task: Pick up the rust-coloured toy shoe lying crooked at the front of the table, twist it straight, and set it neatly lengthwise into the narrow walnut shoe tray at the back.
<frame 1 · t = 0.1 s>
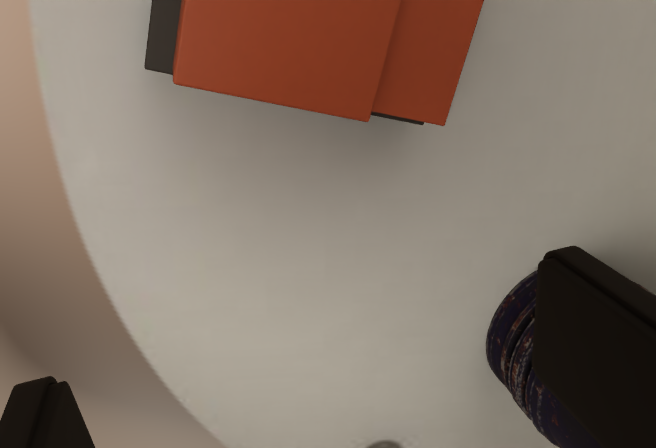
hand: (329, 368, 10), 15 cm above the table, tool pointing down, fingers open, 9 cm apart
shoe: (304, 22, 23), on the table
storage jar: (553, 325, 34), on the table
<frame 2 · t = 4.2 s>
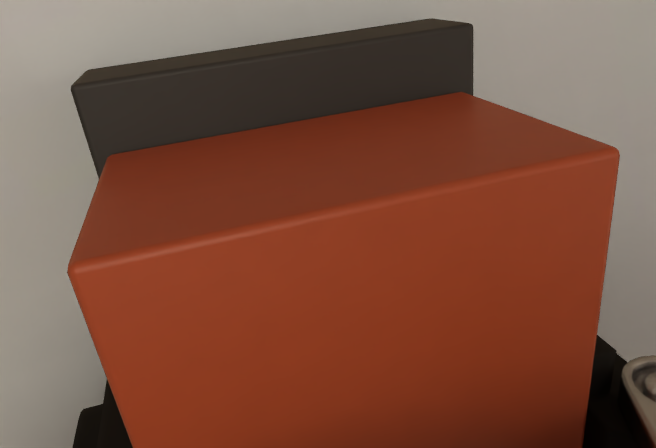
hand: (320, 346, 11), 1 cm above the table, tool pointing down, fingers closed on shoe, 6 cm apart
shoe: (313, 330, 12), on the table, touching gripper
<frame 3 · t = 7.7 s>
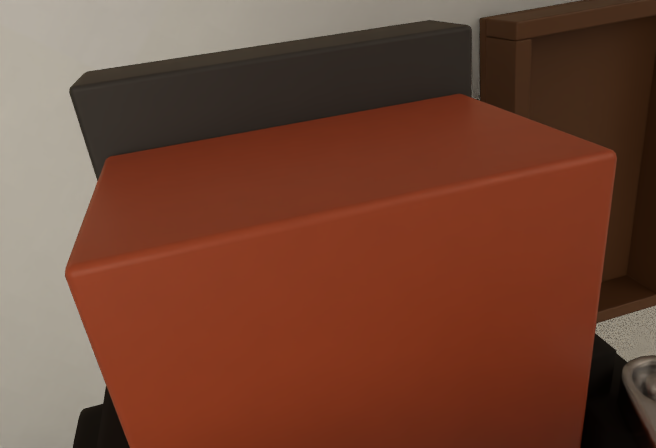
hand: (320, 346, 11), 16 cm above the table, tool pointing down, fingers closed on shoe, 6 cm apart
shoe tray: (565, 168, 30), on the table
shoe: (312, 331, 12), point 15 cm above the table, touching gripper
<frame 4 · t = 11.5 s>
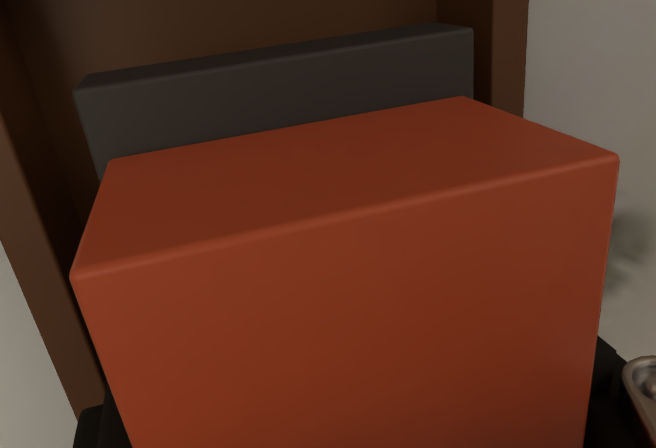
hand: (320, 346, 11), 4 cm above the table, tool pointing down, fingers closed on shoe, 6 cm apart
shoe tray: (281, 253, 15), on the table
shoe: (313, 332, 12), point 4 cm above the table, touching gripper
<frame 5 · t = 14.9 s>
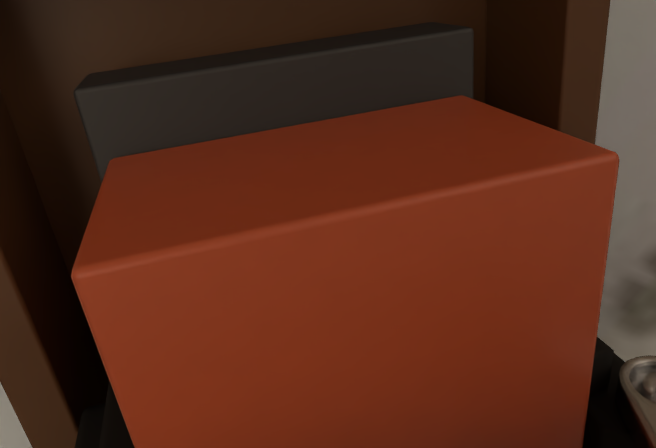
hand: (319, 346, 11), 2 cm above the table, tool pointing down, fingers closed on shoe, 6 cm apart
shoe tray: (299, 296, 13), on the table
shoe: (314, 331, 12), point 1 cm above the table, touching gripper
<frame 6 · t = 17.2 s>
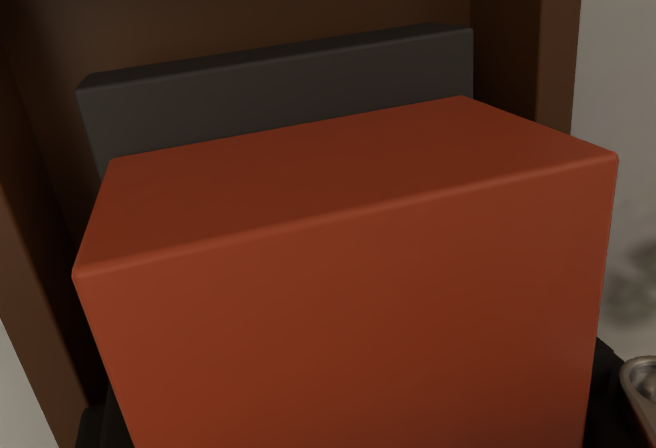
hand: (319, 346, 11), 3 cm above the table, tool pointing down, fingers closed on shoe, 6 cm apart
shoe tray: (296, 287, 14), on the table
shoe: (314, 331, 12), point 2 cm above the table, touching gripper
when the fingers open (3 cm above the table, at t = 18.9 s): shoe drops 1 cm, resting on shoe tray.
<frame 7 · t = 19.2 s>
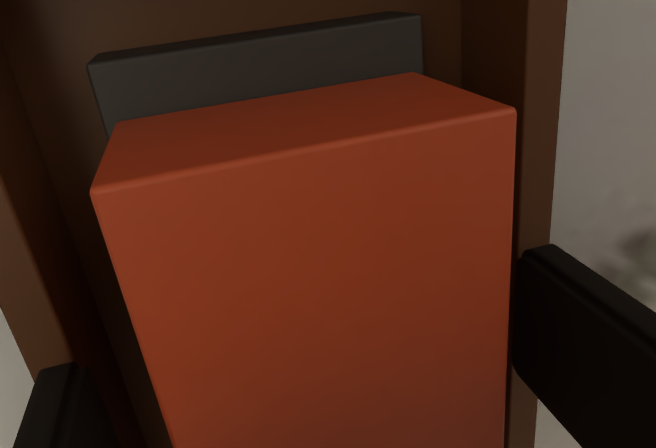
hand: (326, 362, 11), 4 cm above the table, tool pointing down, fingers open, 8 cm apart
shoe tray: (290, 276, 14), on the table
shoe: (294, 285, 13), point 1 cm above the table, touching shoe tray
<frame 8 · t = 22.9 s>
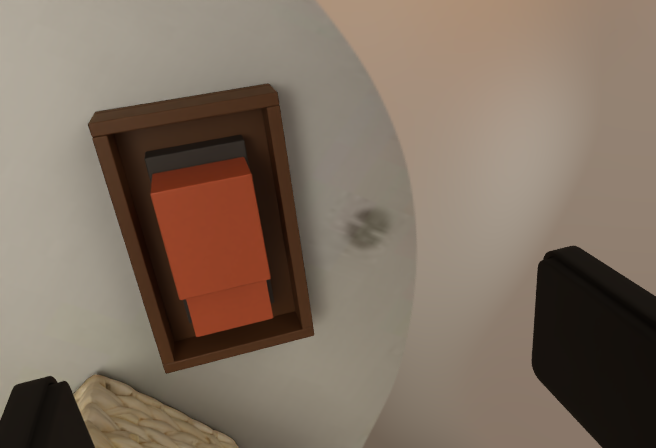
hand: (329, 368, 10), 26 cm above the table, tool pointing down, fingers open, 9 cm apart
shoe tray: (213, 225, 37), on the table
shoe: (213, 228, 36), point 1 cm above the table, touching shoe tray
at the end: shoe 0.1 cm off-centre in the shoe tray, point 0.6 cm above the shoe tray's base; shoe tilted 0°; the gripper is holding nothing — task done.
